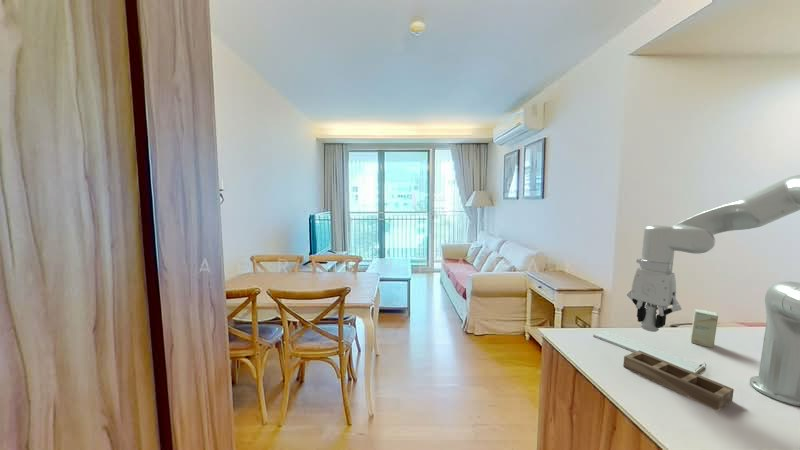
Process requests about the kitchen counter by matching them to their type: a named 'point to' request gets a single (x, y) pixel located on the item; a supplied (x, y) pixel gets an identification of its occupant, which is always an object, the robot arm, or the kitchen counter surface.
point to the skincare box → (704, 327)
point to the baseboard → (648, 351)
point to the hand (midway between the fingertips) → (650, 323)
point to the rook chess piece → (650, 318)
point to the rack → (680, 380)
